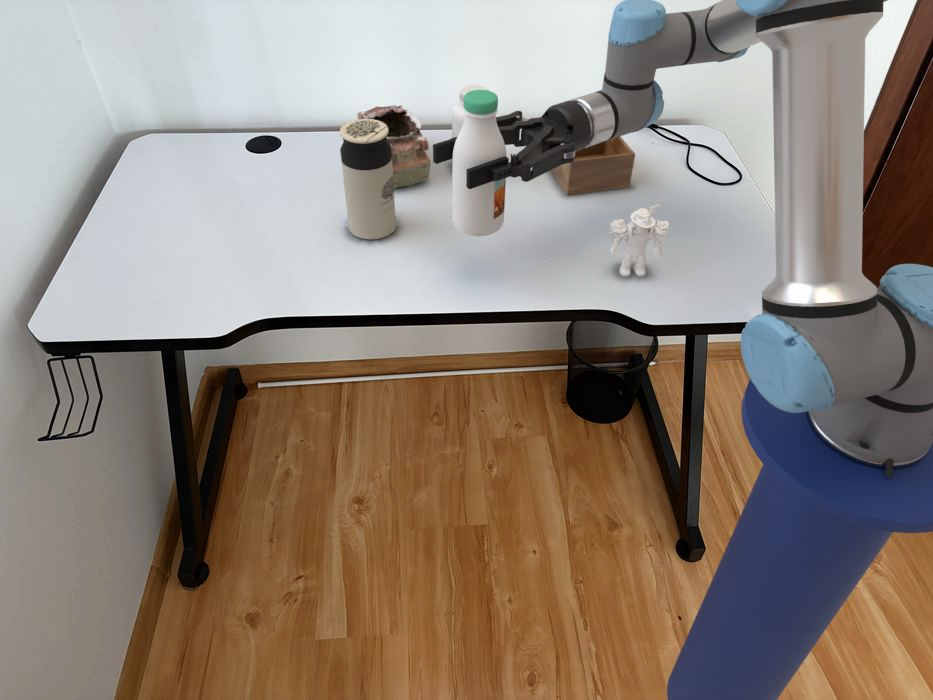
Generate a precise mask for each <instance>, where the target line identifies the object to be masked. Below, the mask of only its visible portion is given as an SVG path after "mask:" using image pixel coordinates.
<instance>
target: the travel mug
mask: <svg viewBox="0 0 933 700" xmlns="http://www.w3.org/2000/svg"><path fill="white" fill-rule="evenodd" d="M388 132H389V129H388V127H387V125H386V124H384V123H383V122H381V121H378V120H374V119H358V118H357V119H354V120H350V121H348V122H345V123H344V124H343V125H341V127H340V130H339V135H340V137H341V138H342V140H343V142H342V144H341V146H340V149H339V152H340V160H341V161H340V162H341V169H342V178H343V187H344V195H345V205H346V213H347V224H348V230H349V232H350V233H351V235H353V236H355V237H357V238H360V239H363V240H379V239H383V238H386V237H388V236H390V235H391V234H392V233H394V231H395V230H396V227H397V220H396V219H397V218H396V201H395V188H394V184H393V168H392V151H391V145H390V144H389V142H388V141H387V134H388Z"/></svg>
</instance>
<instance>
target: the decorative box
mask: <svg viewBox="0 0 933 700" xmlns="http://www.w3.org/2000/svg"><path fill="white" fill-rule="evenodd" d="M356 115H357V120H358V119H374V120H378V121H381V122H383V123H384V124H386V125H387V127H388V129H389V132H388V134H387V141H388V142H389V144H390V145H391V151H392V168H393V184H394V189H397V188H400V187H403V186H406V187H411V186H413V185H414V184H417V183H419V182H424V181H427V180H429V178H430V170H431V166H432V165H431V160H430V157H429V155H428V154H427V152H426V151H429V149H430V147H429V146H430V144H429V141H428V139H427V138H426V137H425V136H424V135H423V134H422V132H421V128H422V122H421V121H420V119H419V117H418V116H416V115H415V114H413V113H412V111H410V110H408V109H406V108H403V106H402V104H401V105H400V104H399V105H396V104H393V105H388V106H375V107H373V108H371V109H368V110H366V111H365V110H364V111H360V112H358V113H357V114H356Z"/></svg>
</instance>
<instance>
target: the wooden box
mask: <svg viewBox="0 0 933 700" xmlns="http://www.w3.org/2000/svg"><path fill="white" fill-rule="evenodd" d="M635 158H636V153H635V152H634V150H633V149H632V148H631V146H629V144H628V143H627V142H626V141H625V140H624V139H623V137H622V136H620V137H617V138H614V139H611V140H607V141H605V142H601V143H598V144H596V145H593V146H590V147H587V148H584V149H582V150H580V151H577V152H575V158H574V162H571V163H567V164H562V165H560V166H558V167H556V168H554V169H552V170H550V173H552V175H553V177H554V178H555V180H556V181H557V182H558V184H559V185H560V187H561V188H562V190H563V191H564V193H565V194H566V196H572V195H580V194H589V193H596V192H602V191H603V192H604V191H609V190H610V191H611V190H618V189H626V188H630V187H631V181H632V176H633V175H632V174H633V170H634V164H635Z"/></svg>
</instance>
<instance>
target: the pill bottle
mask: <svg viewBox="0 0 933 700" xmlns="http://www.w3.org/2000/svg"><path fill="white" fill-rule="evenodd" d="M473 90H488V91H490V90H489V89H488V88H487V87H486V86H483V85H479V84H469V85H465V86H463V87H461V88H460V89H459V93H458V94H459V97H458V102H457V103H456V104H455V105H454V106H453V108H452V110H451V138H455V137H457V136H458V135H459V133H460V131H461V128H462V126H463V123H464V120H465V113H464V103H463V102H464V96H465V94H466V93H468V92H470V91H473Z"/></svg>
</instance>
